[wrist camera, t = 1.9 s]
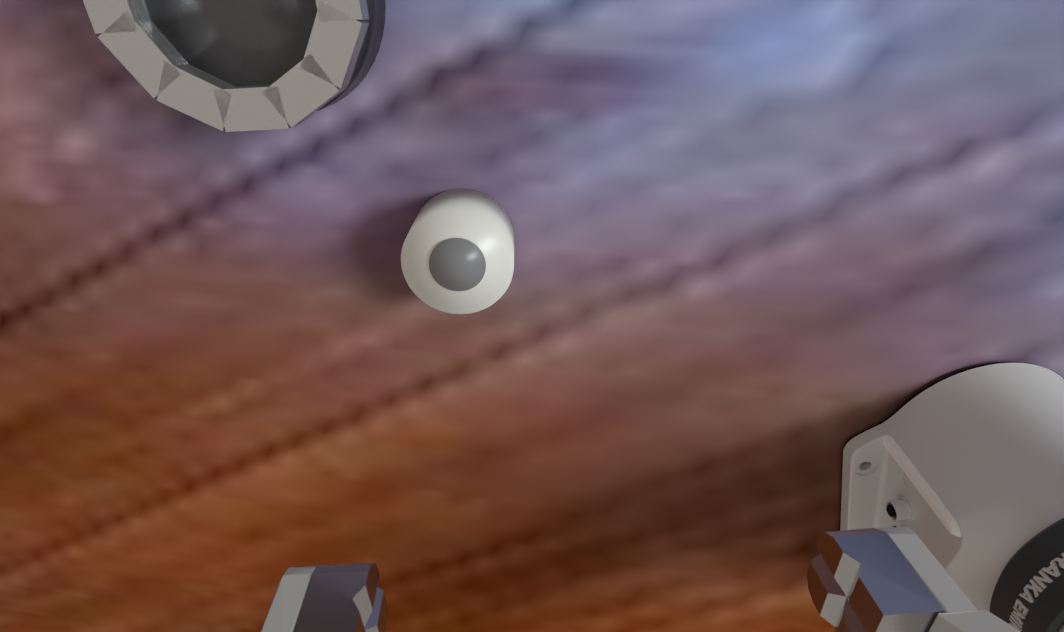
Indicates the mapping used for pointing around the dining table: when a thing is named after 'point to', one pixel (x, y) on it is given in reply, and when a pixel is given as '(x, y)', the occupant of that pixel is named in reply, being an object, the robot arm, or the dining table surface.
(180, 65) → the lens barrel
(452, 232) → the cap
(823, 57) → the dining table surface
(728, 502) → the dining table surface
